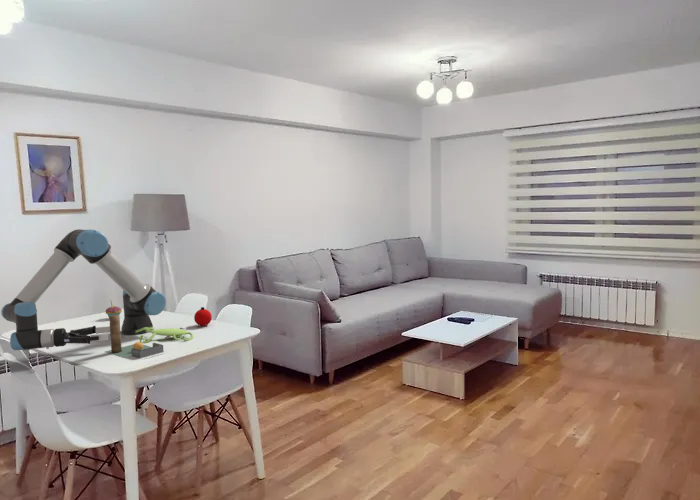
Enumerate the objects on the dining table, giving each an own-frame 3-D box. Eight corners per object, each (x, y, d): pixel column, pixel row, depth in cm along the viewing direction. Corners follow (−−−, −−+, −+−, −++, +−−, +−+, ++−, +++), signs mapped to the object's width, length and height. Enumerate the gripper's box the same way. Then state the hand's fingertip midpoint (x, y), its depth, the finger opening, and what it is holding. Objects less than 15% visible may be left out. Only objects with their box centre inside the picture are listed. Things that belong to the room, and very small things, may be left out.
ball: (131, 351, 222) (130, 342, 221) (139, 349, 225) (139, 340, 225) (136, 352, 219) (136, 343, 219) (145, 350, 223) (144, 341, 222)
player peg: (109, 352, 221) (107, 316, 220) (118, 350, 224) (116, 314, 223) (114, 353, 219) (112, 317, 217) (123, 351, 222) (121, 315, 220)
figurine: (136, 337, 251) (135, 326, 250) (192, 332, 259) (192, 321, 259) (133, 347, 233) (132, 335, 233) (193, 341, 242) (193, 329, 241)
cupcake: (117, 320, 287) (116, 299, 286) (102, 320, 288) (101, 299, 286) (124, 316, 296) (123, 296, 295) (110, 317, 296) (108, 296, 295)
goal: (131, 357, 216) (131, 348, 215) (154, 351, 224) (154, 342, 224) (140, 360, 212) (139, 351, 211) (163, 353, 221) (163, 344, 220)
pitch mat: (104, 354, 222) (103, 351, 222) (137, 345, 235) (137, 343, 235) (124, 360, 213) (123, 357, 213) (158, 350, 226) (157, 348, 225)
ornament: (209, 327, 266) (208, 308, 265) (192, 327, 266) (191, 309, 266) (214, 323, 275) (213, 305, 274) (197, 323, 275) (196, 305, 275)
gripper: (61, 339, 225) (113, 334, 232) (48, 354, 201) (106, 348, 208) (60, 322, 224) (112, 318, 231) (46, 336, 201) (105, 331, 207)
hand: (110, 332), depth 220 cm, fingers open, 13 cm apart
